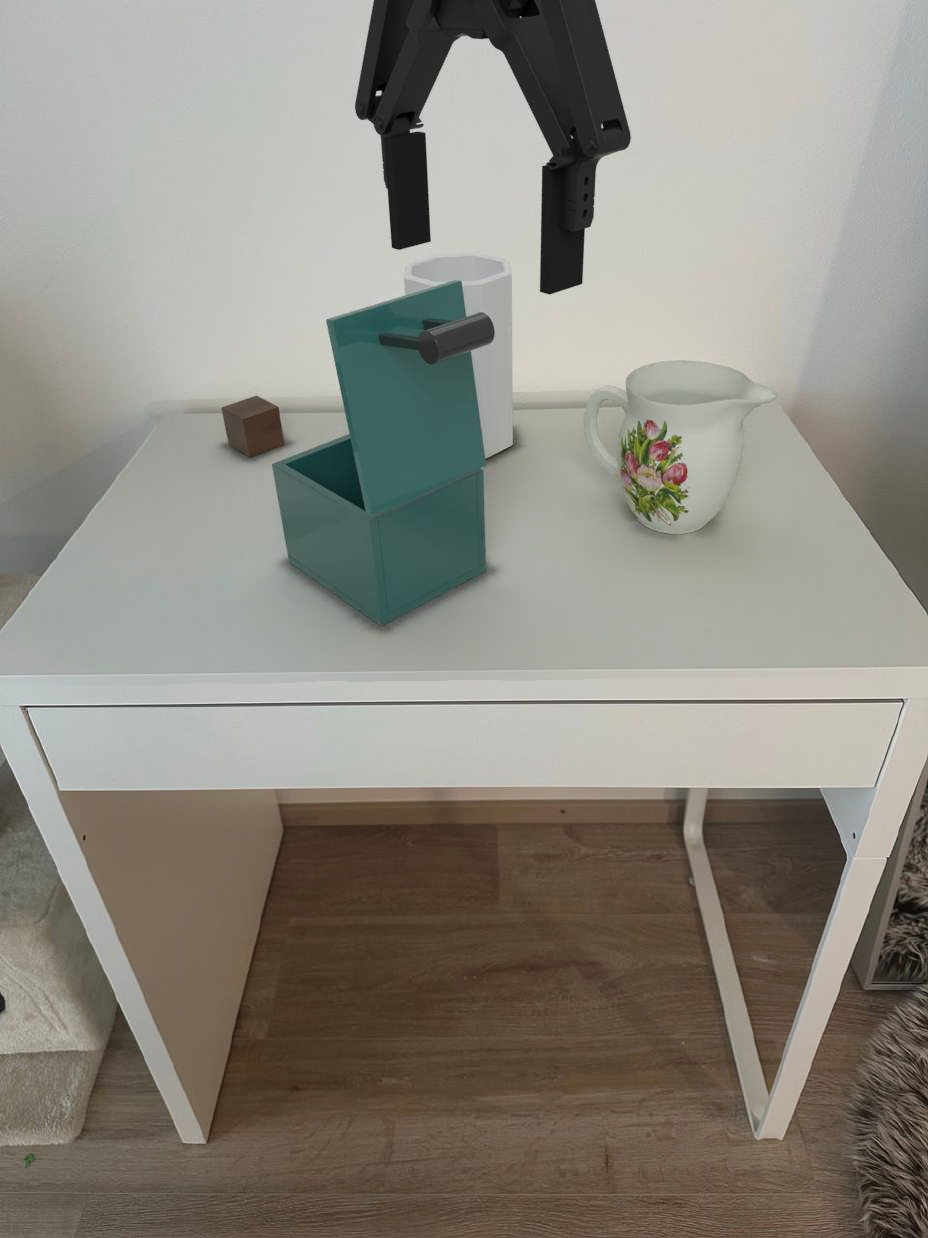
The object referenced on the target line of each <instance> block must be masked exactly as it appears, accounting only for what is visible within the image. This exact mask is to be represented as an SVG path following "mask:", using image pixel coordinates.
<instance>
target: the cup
mask: <svg viewBox="0 0 928 1238" xmlns="http://www.w3.org/2000/svg"><path fill="white" fill-rule="evenodd" d="M454 280H460V281H462V288H463V295H464V303H465V310H466V316H469V315H472V314H475V313H478V312H483V313H485V314H487V315H488V316H489V317H490V319H491V320H492V322H493V325H494V330H495V335H494V339H493V341H492V342H491V343H490V344H488V345H486V346H483V347H480V348H477V349H475V350H472V351H471V355H472V363H473V370H474V377H475V385H476V392H477V400H478V407H479V415H480V422H481V430H482V437H483V445H484V452H485V460H487V459H488V458H490V457H492V456H494V455H496V454H498V453H501V452H502V451H504V450H505V449H508V448H509V447H512V446H513V445H514V436H513V435H514V406H513V405H514V401H513V400H514V399H513V398H514V396H513V394H514V393H513V391H514V390H513V388H514V387H513V386H514V385H513V273H512V267H511V262H510V260H509V259H507V258H505V257H501V256H498V255H497V256H496V255H492V254H487V253H485V252H484V253H483V252H480V251H479V252H478V251H471V252H469V251H468V252H445V253H443V252H442V253H435V254H432V255H429V256H425V257H422V258H419V259H416V260H413V261H410V262H408V263H407V264H406V265H405V266H404V275H403V282H404V296H405V295H408V294H411V293H414V292H418V291H421V290H424V289H428V288H431V287H434V286H437V285H441V284H444V283H447V282H450V281H454Z"/></svg>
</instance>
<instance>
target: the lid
mask: <svg viewBox="0 0 928 1238" xmlns="http://www.w3.org/2000/svg"><path fill="white" fill-rule="evenodd" d="M325 322H326V327H327V331H328V337H329V341H330V346H331V350H332V351H331V352H332V356H333V360H334V365H335V370H336V375H337V379H338V380H337V381H338V385H339V390H340V394H341V399H342V405H343V409H344V413H345V419H346V424H347V429H348V434H350V439H351V443H352V448H353V453H354V458H355V463H356V468H357V472H358V477H359V482H360V487H361V492H362V497H363V501H364V506H365V511H366V515H367V516H370V517H374V516H376V515H379V514H381V513H383V512H385V511H387V510H390V509H392V508H394V507H396V506H398V505H401V504H403V503H405V502H407V501H409V500H412V499H414V498H416V497H418V496H420V495H423V494H425V493H427V492H429V491H431V490H434V489H436V488H438V487H440V486H442V485H445V484H447V483H449V482H451V481H453V480H456V479H458V478H460V477H462V476H464V475H467V474H469V473H471V472H473V471H476V470H478V469H483V468H485V467H487V461H486V460H487V459H485V452H484V445H483V437H482V430H481V422H480V415H479V407H478V400H477V392H476V385H475V377H474V370H473V363H472V355H471V351H472V350H475V349H477V348H480V347H483V346H486V345H488V344H490V343H491V342H492V341H493V339H494V335H495V330H494V325H493V322H492V320H491V319H490V317H489V316H488V315H487V314H485V313H483V312H478V313H475V314H472V315H469V316H466V310H465V303H464V295H463V288H462V281H460V280H454V281H450V282H447V283H444V284H441V285H437V286H434V287H431V288H428V289H424V290H421V291H418V292H414V293H411V294H408V295H405V294H404V295H401V296H398V297H395V298H392V299H389V300H388V299H387V300H385V301H383V302H379V303H376V304H372V305H368V306H366V307H362V308H359V309H356V310H353V311H352V310H351V311H349V312H346V313H342V314H339V315H336V316H332V317H329V318H327V319H325Z"/></svg>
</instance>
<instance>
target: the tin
mask: <svg viewBox="0 0 928 1238" xmlns="http://www.w3.org/2000/svg"><path fill="white" fill-rule="evenodd" d="M271 467H272V468H271V469H272V475H273V477H274V478H273V480H274V484H275V490H276V496H277V501H278V502H277V503H278V508H279V514H280V518H281V519H280V520H281V524H282V529H283V530H282V531H283V536H284V542H285V548H286V553H287V554H286V555H287V559H288V563H289V564H291V565H293V566H294V567H295V568H297V569H298V570H300V571H301V572H302V573H304V574H305V575H307V576H309V578H311V579H313V580H314V581H315V582H317V583H318V584H319V585H321V586H322V587H324V588H325V589H327V590H328V591H330V592H331V593H333V594H334V595H335V596H336V597H338V598H340V599H341V600H342V601H344V602H345V603H347V604H349V605H350V606H351V607H353V608H354V609H356V610H357V611H358V612H360V613H361V614H363V615H364V616H366V617H367V618H368V619H370V620H371V621H373V622H374V623H376V624H377V625H378V626H380V627H383V626H385V625H387V624H389V623H391V622H393V621H395V620H397V619H398V618H401V617H402V616H404V615H406V614H408V613H410V612H411V611H413V610H416V609H417V608H419V607H420V606H423V605H424V604H426V603H428V602H431V601H432V600H434V599H435V598H437V597H440V596H441V595H444V594H445V593H447V592H449V591H451V590H453V589H455V588H456V587H458V586H460V585H462V584H464V583H465V582H468V581H470V580H472V579H474V578H475V577H477V576H479V575H481V574H482V573H484V572H486V571H487V560H486V559H487V556H486V555H487V554H486V551H487V550H486V518H485V516H486V515H485V514H486V513H485V483H484V481H485V480H484V477H485V476H484V469H483V468H480V469H478V470H476V471H473V472H471V473H469V474H467V475H464V476H462V477H460V478H458V479H456V480H453V481H451V482H449V483H447V484H445V485H442V486H440V487H438V488H436V489H434V490H431V491H429V492H427V493H425V494H423V495H420V496H418V497H416V498H414V499H412V500H409V501H407V502H405V503H403V504H401V505H398V506H396V507H394V508H392V509H390V510H387V511H385V512H383V513H381V514H379V515H376V516H374V517H370V516H367V515H366V511H365V506H364V501H363V497H362V492H361V487H360V482H359V477H358V472H357V468H356V463H355V458H354V453H353V448H352V443H351V439H350V434H349V433H347V434H345V435H342V436H341V437H337V438H335V439H333V440H330V441H327V442H324V443H322V444H320V445H317V446H315V447H312V448H310V449H307V450H304V451H302V452H299V453H296V454H294V455H291V456H288V457H286V458H284V459H281V460H278V461H275V462H273V463H271Z"/></svg>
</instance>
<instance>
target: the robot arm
mask: <svg viewBox="0 0 928 1238" xmlns="http://www.w3.org/2000/svg"><path fill="white" fill-rule="evenodd" d="M604 32H605V31H604V29H603V24H602V21H601V17H600V13H599V10H598V6H597V2H596V0H373V2H372V8H371V14H370V19H369V25H368V30H367V37H366V41H365V45H364V46H365V47H364V53H363V58H362V63H361V69H360V75H359V80H358V86H357V92H356V98H355V103H354V110H355V115H356V117H357V118H358V119H359V120H360V121H366V120H368V121H369V122H370V123H371V124H373V129H374V130H375V132H376V133H377V135H379V136H380V145H381V146H380V147H381V160H382V161H381V162H382V169H383V170H382V172H383V173H382V174H383V182H384V185H385V189H387V199H388V202H387V203H388V214H389V215H388V217H389V227H390V228H389V229H390V243H391V249H394V250H397V251H401V250H404V249H408V248H412V247H416V246H420V245H424V244H427V243H431V242H432V237H431V218H430V195H429V176H428V154H427V136H426V135H427V133H426V132H424V131H412V132H411V130H416V129H421V128H423V127H424V126H425V124H424V123H422V121H423V120H422V119H421V118H420V116H421V114H422V111H423V110H424V108H425V106H426V103H427V100H428V99H429V97H430V94H431V92H432V90H433V88H434V86H435V83H436V81H437V79H438V77H439V75H440V72H441V71H442V68H443V66H444V64H445V61H446V59H447V57H448V55H449V53H450V51H451V49H452V47H453V44H454V43H455V42H456V41H457V40H459V39H460V38H461V37H469V38H471V39H473V40H487V39H488V40H489V42H490V44H491V45H492V47H494V48H495V49H496V50H498V51H500V52H502V54H503V55H504V57H505V60H506V62H507V64H508V66H509V68H510V70H511V72H512V74H513V76H514V78H515V80H516V82H517V84H518V87H519V89H520V90H521V92H522V95H523V96H524V99H525V101H526V103H527V106H528V107H529V109H530V110H531V113H532V115H533V117H534V119H535V122H536V124H537V125H538V128H539V130H540V131H541V134H542V136H543V137H544V140H545V142H546V144H547V146H548V148H549V150H550V152H551V154H552V157H550V159H549V160H548V162H546V163H545V164H544V165H542V166H541V208H540V209H541V212H540V220H541V221H540V259H539V260H540V264H539V265H540V266H539V293H542V294H545V295H553V294H556V293H559V292H562V291H566V290H568V289H571V288H575V287H577V286H578V287H579V286H580V285H583V282H584V281H583V279H584V278H583V277H584V258H585V257H584V256H585V235H586V229H588V228H591V227H592V223H593V221H594V216H595V214H594V213H595V196H596V179H597V177H596V176H597V166H598V163H599V162H600V160H601V159H602V158H604V157H607V156H609V155H612V154H615V153H617V152H621V151H622V152H623V151H625V150H627V149H628V148H629V146H630V144H631V141H632V140H631V139H632V135H631V131H630V126H629V122H628V120H627V114H626V111H625V107H624V104H623V100H622V97H621V92H620V89H619V85H618V81H617V78H616V77H617V76H616V74H615V71H614V66H613V62H612V59H611V54H610V51H609V47H608V43H607V39H606V36H605V33H604ZM377 92H380V93H381V94H379V95H377Z"/></svg>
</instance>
